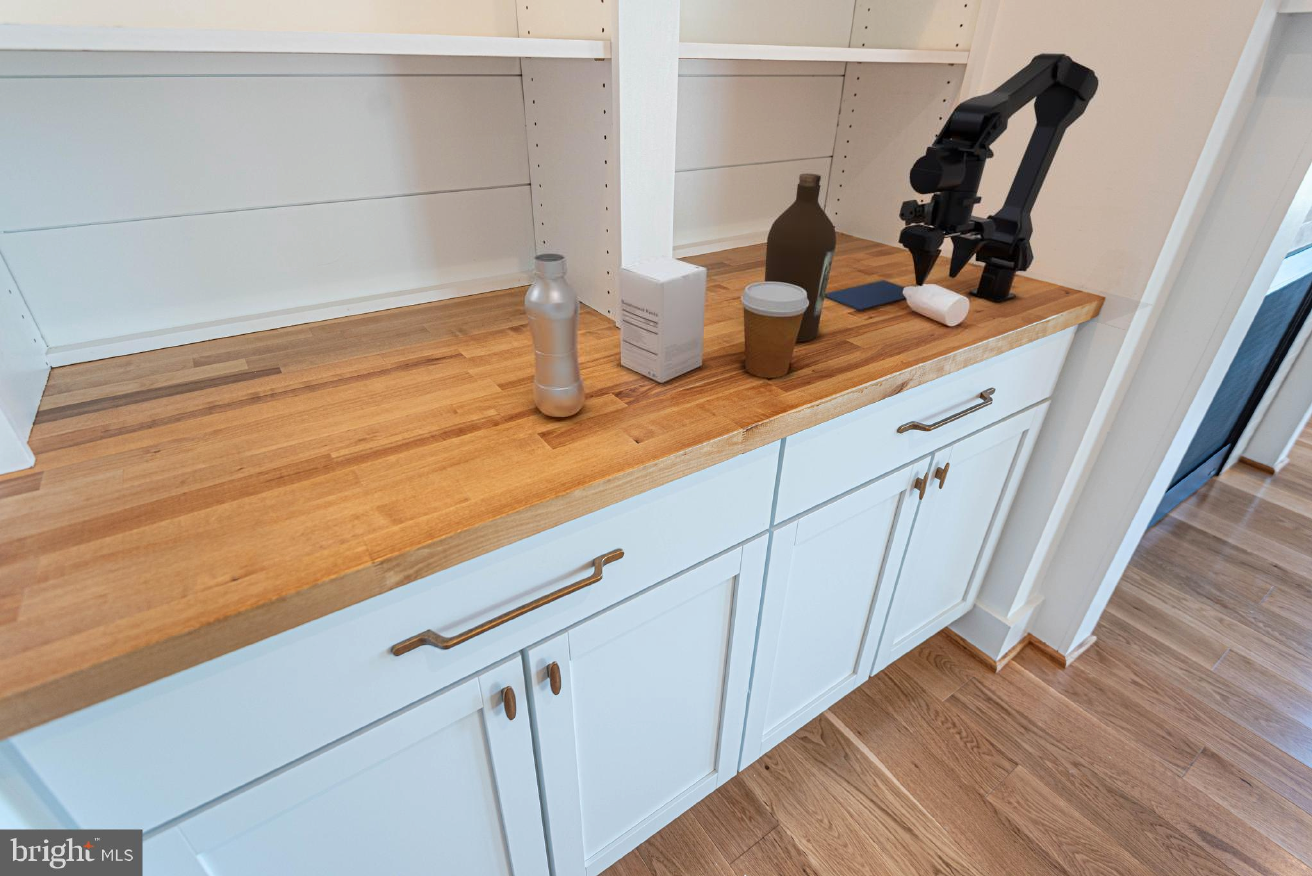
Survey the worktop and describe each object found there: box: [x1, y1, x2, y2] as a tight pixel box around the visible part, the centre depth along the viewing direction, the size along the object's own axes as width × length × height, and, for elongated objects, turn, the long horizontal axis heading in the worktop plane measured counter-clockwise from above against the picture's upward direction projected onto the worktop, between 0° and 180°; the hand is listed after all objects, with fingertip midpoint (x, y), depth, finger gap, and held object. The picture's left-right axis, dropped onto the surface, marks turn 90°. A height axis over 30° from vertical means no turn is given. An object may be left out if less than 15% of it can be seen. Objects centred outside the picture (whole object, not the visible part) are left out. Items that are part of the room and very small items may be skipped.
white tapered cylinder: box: [903, 283, 970, 327], centre depth 115 cm, size 6×12×6 cm, turn 28°
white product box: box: [618, 255, 708, 384], centre depth 91 cm, size 9×9×15 cm
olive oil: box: [764, 173, 837, 344], centre depth 101 cm, size 11×11×25 cm
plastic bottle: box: [524, 252, 586, 418], centre depth 78 cm, size 6×7×20 cm
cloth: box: [824, 280, 907, 311], centre depth 125 cm, size 18×10×1 cm, turn 123°
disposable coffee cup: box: [740, 281, 809, 379], centre depth 92 cm, size 10×10×12 cm
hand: (935, 281), depth 113 cm, fingers open, 9 cm apart
